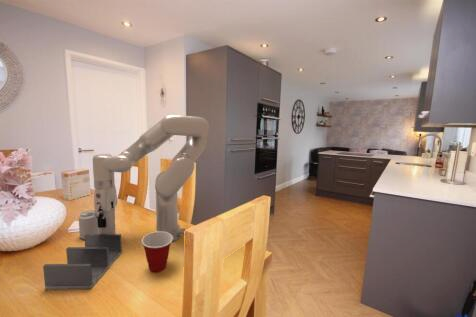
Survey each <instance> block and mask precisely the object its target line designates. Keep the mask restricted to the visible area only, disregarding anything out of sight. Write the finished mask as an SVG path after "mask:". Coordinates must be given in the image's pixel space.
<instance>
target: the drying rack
mask: <svg viewBox="0 0 476 317" xmlns="http://www.w3.org/2000/svg"><path fill="white" fill-rule="evenodd" d="M83 241H84V247H83V246H75V247H73V246H71V247H70V246H67V247H66V249H65V250H66V262H67V263H46V264H44V265H43V266H42V270H43V279H44V287H45V290H91V289H92V288H93V287H94V286H95V285H96V284H97V282H98V281H99V280H100V279H101V278H102V276H104V275H105V273H106V272H107V271H108V270H109V268H110V267H111V266H112V265H113V263H114V262H116V260H117V259H118V258H119V256H121V254H122V253H123V248H122V234H121V233H116V234H85V235H84V239H83Z"/></svg>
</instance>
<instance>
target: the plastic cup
mask: <svg viewBox="0 0 476 317" xmlns="http://www.w3.org/2000/svg"><path fill="white" fill-rule="evenodd" d="M172 240H173V236H172V235H171V234H170V233H167V232H162V231H158V232H157V231H153V232H149V233H147V234H145V235H144V236H143V237H142V238H141V244H142V245H143V248H144V252H145V258H146V262H147V266H148V269H149V271H150V272H151V273H155V274H156V273H161V272H163V271H165V269H166V268H167V267H166V266H167V263H168V259H169V252H170V246H171V244H172V243H173V242H172Z"/></svg>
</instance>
